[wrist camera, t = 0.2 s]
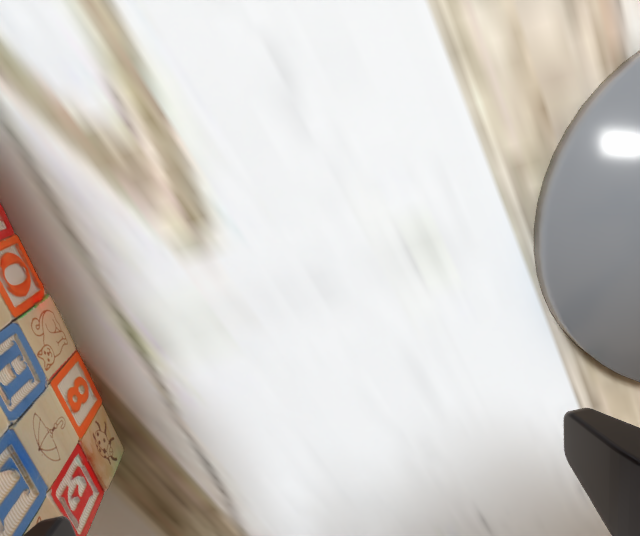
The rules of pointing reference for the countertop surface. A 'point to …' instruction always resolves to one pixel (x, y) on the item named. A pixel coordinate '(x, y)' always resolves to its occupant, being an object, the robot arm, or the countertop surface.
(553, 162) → the slate plate
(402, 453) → the countertop surface
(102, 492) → the stack of blocks
